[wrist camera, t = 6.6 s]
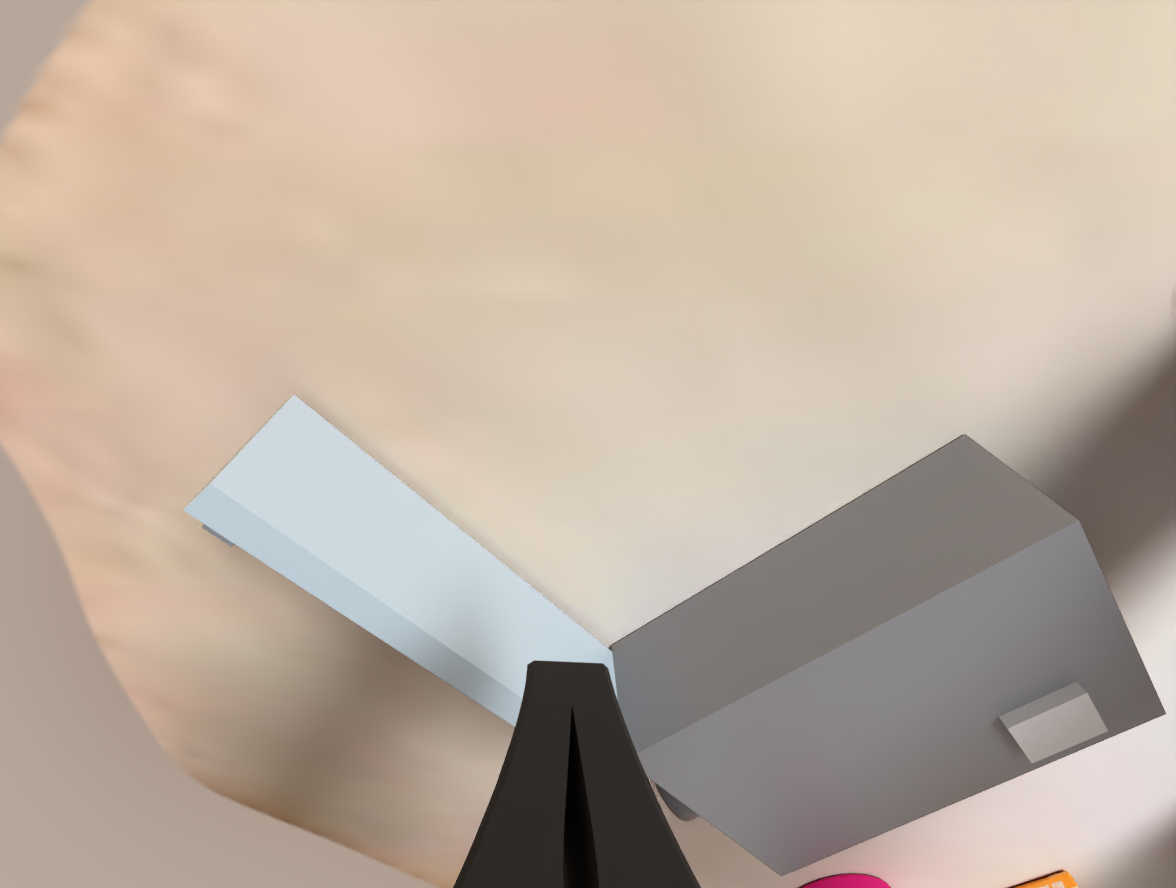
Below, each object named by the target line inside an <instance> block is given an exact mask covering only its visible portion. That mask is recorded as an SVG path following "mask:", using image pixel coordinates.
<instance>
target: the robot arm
mask: <svg viewBox="0 0 1176 888" xmlns="http://www.w3.org/2000/svg"><path fill="white" fill-rule="evenodd" d="M453 888H701V887H700V885H699V883H698V881H697V879H696V878H695V876H694V874H693V872H692V870H691V868H690V866H689V864H688V862H687V860H686V858H685V856H684V855H683V853H682V851H681V848H680V846H679V844H678V842H677V840H676V838H675V836H674V834H673V832H672V830H671V828H670V826H669V824H668V822H667V820H666V818H665V816H664V814H663V811H662V809H661V807H660V805H659V803H658V801H657V799H656V796H655V794H654V792H653V789H652V787H651V785H650V782H649V780H648V778H647V776H646V773H645V771H644V769H643V766H642V764H641V762H640V759H639V757H638V754H637V752H636V749H635V747H634V745H633V742H632V739H631V737H630V734H629V731H628V729H627V726H626V723H625V721H624V718H623V715H622V712H621V709H620V706H619V703H618V700H617V697H616V694H615V691H614V688H613V684H612V681H611V677H610V673H609V669H608V668H607V667H606V666H605V665H604V664H603V663H583V662H561V661H538V660H534V661H533V662H531V663H529V664H528V665H527V673H526V683H525V688H524V694H523V699H522V703H521V707H520V711H519V715H518V719H517V722H516V726H515V729H514V733H513V736H512V740H511V743H510V746H509V748H508V751H507V754H506V757H505V760H504V763H503V766H502V769H501V772H500V775H499V778H498V781H497V784H496V786H495V789H494V792H493V794H492V797H491V799H490V802H489V804H488V807H487V809H486V812H485V814H484V817H483V819H482V822H481V824H480V827H479V829H478V832H477V834H476V837H475V839H474V842H473V844H472V846H471V849H470V851H469V853H468V856H467V858H466V860H465V862H464V865H463V867H462V869H461V872H460V874H459V876H458V878H457V880H456V883H455V885H454V887H453Z"/></svg>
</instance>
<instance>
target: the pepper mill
mask: <svg viewBox="0 0 1176 888" xmlns="http://www.w3.org/2000/svg"><path fill="white" fill-rule="evenodd" d="M802 888H891V887H890V886H889V885H888V884H887V883H886V882H884V881H883V880H881V879H880V878H877V877H873V876H869V875H863V874H847V875H837V876H832V877H828V878H823V879H821V880H818V881H815V882H812V883H810V884H808V885H806V886H804V887H802Z"/></svg>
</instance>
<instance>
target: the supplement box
mask: <svg viewBox="0 0 1176 888" xmlns="http://www.w3.org/2000/svg"><path fill="white" fill-rule="evenodd" d="M1015 888H1079V887H1078V885H1077V884H1076V882H1075V881H1074V879H1073V878H1072V876H1071V875H1070V874H1069V873H1068V872H1067V871H1064V872H1061V873H1057V874H1054V875H1051V876H1049V877H1047V878H1044V879H1040V880H1036V881H1033V882H1030V883H1027V884H1024V885H1021V886H1018V887H1015Z"/></svg>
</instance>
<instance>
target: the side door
mask: <svg viewBox="0 0 1176 888" xmlns="http://www.w3.org/2000/svg"><path fill="white" fill-rule="evenodd" d="M183 510H184V511H185V512H187V513H188V514H190V515H191V516H193V517H194V518H196V519H197V520H199V521H200V522H202V523H203V524H204V525H203V527H202V528H204V529H205V530H207V531H208V532H210V533H211V534H213V535H214V536H216V537H218V538H219V539H221V540H222V541H224V542H225V543H227V544H228V545H230V546H231V547H232V546H233V545H234V544H236V545H237V546H239V547H240V548H242V549H243V550H245V551H246V552H248V553H249V554H251V555H252V556H254V557H255V558H257V559H258V560H260V561H262V562H263V563H265V564H266V565H268V566H269V567H271V568H272V569H274V570H275V571H277V572H278V573H280V574H281V575H283V576H284V577H286V578H288V579H289V580H291V581H292V582H294V583H295V584H297V585H298V586H300V587H301V588H303V589H304V590H306V591H307V592H309V593H310V594H312V595H314V596H315V597H317V598H318V599H320V600H321V601H323V602H324V603H326V604H327V605H329V606H330V607H332V608H333V609H335V610H336V611H338V612H339V613H341V614H343V615H344V616H346V617H347V618H349V619H350V620H352V621H353V622H355V623H356V624H358V625H359V626H361V627H362V628H364V629H365V630H367V631H369V632H370V633H372V634H373V635H375V636H376V637H378V638H379V639H381V640H382V641H384V642H385V643H387V644H388V645H390V646H391V647H393V648H395V649H396V650H398V651H399V652H401V653H402V654H404V655H405V656H407V657H408V658H410V659H411V660H413V661H414V662H416V663H417V664H419V665H421V666H422V667H424V668H425V669H427V670H428V671H430V672H431V673H433V674H434V675H436V676H437V677H439V678H440V679H442V680H443V681H445V682H447V683H448V684H450V685H451V686H453V687H454V688H456V689H457V690H459V691H460V692H462V693H463V694H465V695H466V696H468V697H469V698H471V699H473V700H474V701H476V702H477V703H479V704H480V705H482V706H483V707H485V708H486V709H488V710H489V711H491V712H492V713H494V714H495V715H497V716H498V717H500V718H502V719H503V720H505V721H506V722H508V723H509V724H511V725H512V726H514V727H515V726H516V722H517V719H518V715H519V711H520V707H521V703H522V699H523V694H524V688H525V683H526V673H527V665H528V664H529V663H531V662H533V661H534V660H538V661H561V662H583V663H603V664H604V665H605V666H606V667H607V668H608V669H609V673H610V677H611V681H612V684H613V688H614V691H615V694H616V697H617V689H616V680H615V672H614V663H613V654H612V651H611V650H609V649H608V648H607V647H606V646H604V645H603V644H602V643H601V642H600V641H598V640H597V639H596V638H595V637H593V636H592V635H591V634H590V633H588V632H587V631H586V630H585V629H583V628H582V627H581V626H580V625H578V624H577V623H576V622H575V621H574V620H572V619H571V618H570V617H569V616H567V615H566V614H565V613H564V612H562V611H561V610H560V609H559V608H557V607H556V606H555V605H554V604H553V603H551V602H550V601H549V600H548V599H546V598H545V597H544V596H543V595H541V594H540V593H539V592H538V591H536V590H535V589H534V588H533V587H531V586H530V585H529V584H528V583H527V582H525V581H524V580H523V579H522V578H520V577H519V576H518V575H517V574H515V573H514V572H513V571H512V570H510V569H509V568H508V567H507V566H505V565H504V564H503V563H502V562H501V561H499V560H498V559H497V558H496V557H494V556H493V555H492V554H491V553H489V552H488V551H487V550H486V549H484V548H483V547H482V546H481V545H479V544H478V543H477V542H476V541H475V540H473V539H472V538H471V537H470V536H468V535H467V534H466V533H465V532H463V531H462V530H461V529H460V528H458V527H457V526H456V525H455V524H454V523H452V522H451V521H450V520H449V519H447V518H446V517H445V516H444V515H442V514H441V513H440V512H439V511H437V510H436V509H435V508H434V507H432V506H431V505H430V504H429V503H428V502H426V501H425V500H424V499H423V498H421V497H420V496H419V495H418V494H416V493H415V492H414V491H413V490H411V489H410V488H409V487H408V486H406V485H405V484H404V483H403V482H402V481H400V480H399V479H398V478H397V477H395V476H394V475H393V474H392V473H390V472H389V471H388V470H387V469H385V468H384V467H383V466H382V465H381V464H379V463H378V462H377V461H376V460H374V459H373V458H372V457H371V456H369V455H368V454H367V453H366V452H364V451H363V450H362V449H361V448H359V447H358V446H357V445H356V444H355V443H353V442H352V441H351V440H350V439H348V438H347V437H346V436H345V435H343V434H342V433H341V432H340V431H338V430H337V429H336V428H335V427H333V426H332V425H331V424H330V423H329V422H327V421H326V420H325V419H324V418H322V417H321V416H320V415H319V414H317V413H316V412H315V411H314V410H312V409H311V408H310V407H309V406H307V405H306V404H305V403H304V402H303V401H301V400H300V399H299V398H298V397H296V396H295V395H293V396H292V397H291V398H290V399H289V400H288V401H287V402H286V403H285V404H284V405H283V406H282V407H281V408H280V409H279V410H278V411H277V412H276V413H275V414H274V415H273V416H272V417H271V418H270V419H269V420H268V421H267V422H266V423H265V424H264V425H263V426H262V427H261V428H260V429H259V430H258V431H257V432H256V433H255V434H254V436H253V437H252V438H251V439H250V440H249V441H248V442H247V443H246V444H245V445H244V446H243V447H242V448H241V449H240V450H239V451H238V452H237V453H236V455H235V456H234V457H233V458H232V459H231V460H230V461H229V462H228V463H227V464H226V465H225V466H224V467H223V468H222V469H221V470H220V471H219V472H218V474H217V475H216V476H215V477H214V478H213V479H212V480H211V481H210V482H209V483H208V484H207V485H206V486H205V487H204V488H203V489H202V490H201V491H200V493H199V494H198V495H197V496H196V497H195V498H194V499H193V500H192V501H191V502H190V503H189V504H188V505H187V506H186V507H185V508H184V509H183ZM617 700H618V698H617Z"/></svg>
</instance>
